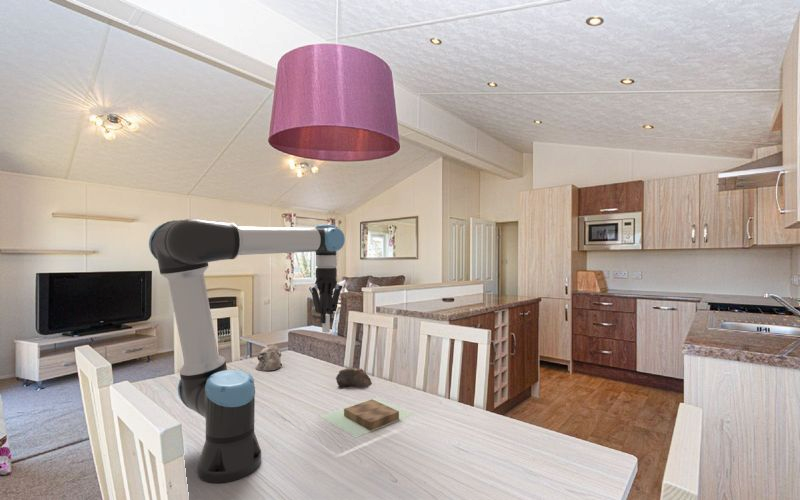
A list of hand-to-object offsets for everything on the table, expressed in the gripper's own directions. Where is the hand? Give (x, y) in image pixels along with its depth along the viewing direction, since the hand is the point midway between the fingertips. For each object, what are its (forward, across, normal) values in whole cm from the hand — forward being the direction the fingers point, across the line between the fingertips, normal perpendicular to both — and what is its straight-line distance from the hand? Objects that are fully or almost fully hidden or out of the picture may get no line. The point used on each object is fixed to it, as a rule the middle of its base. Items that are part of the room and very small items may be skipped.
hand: (326, 331), depth 141 cm
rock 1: (+27, -4, -57) cm, 63 cm away
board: (+24, -4, +14) cm, 29 cm away
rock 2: (+27, -20, -8) cm, 34 cm away
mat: (+26, -4, +19) cm, 33 cm away
